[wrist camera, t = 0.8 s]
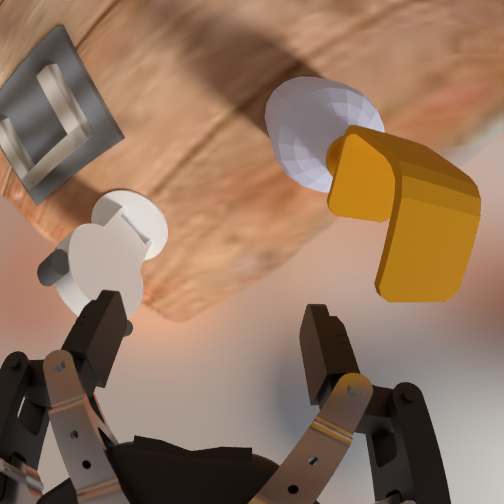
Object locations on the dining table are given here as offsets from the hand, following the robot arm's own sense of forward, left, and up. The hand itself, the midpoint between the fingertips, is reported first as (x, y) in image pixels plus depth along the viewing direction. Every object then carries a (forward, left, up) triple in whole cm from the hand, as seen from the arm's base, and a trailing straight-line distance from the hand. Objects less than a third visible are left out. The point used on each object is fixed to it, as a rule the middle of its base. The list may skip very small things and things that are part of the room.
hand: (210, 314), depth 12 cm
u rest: (+2, -25, -23) cm, 34 cm away
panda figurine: (+14, -10, -23) cm, 29 cm away
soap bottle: (-7, +6, -23) cm, 25 cm away
